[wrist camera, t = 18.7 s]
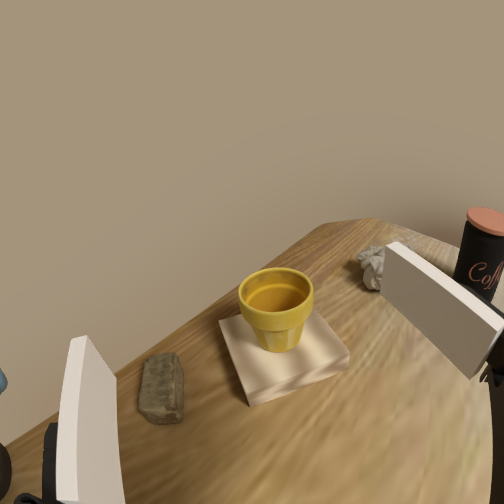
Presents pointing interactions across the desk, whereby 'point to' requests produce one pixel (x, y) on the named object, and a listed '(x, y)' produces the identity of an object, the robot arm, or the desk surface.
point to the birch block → (283, 358)
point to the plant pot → (276, 306)
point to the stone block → (162, 389)
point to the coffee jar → (481, 252)
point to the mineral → (374, 265)
